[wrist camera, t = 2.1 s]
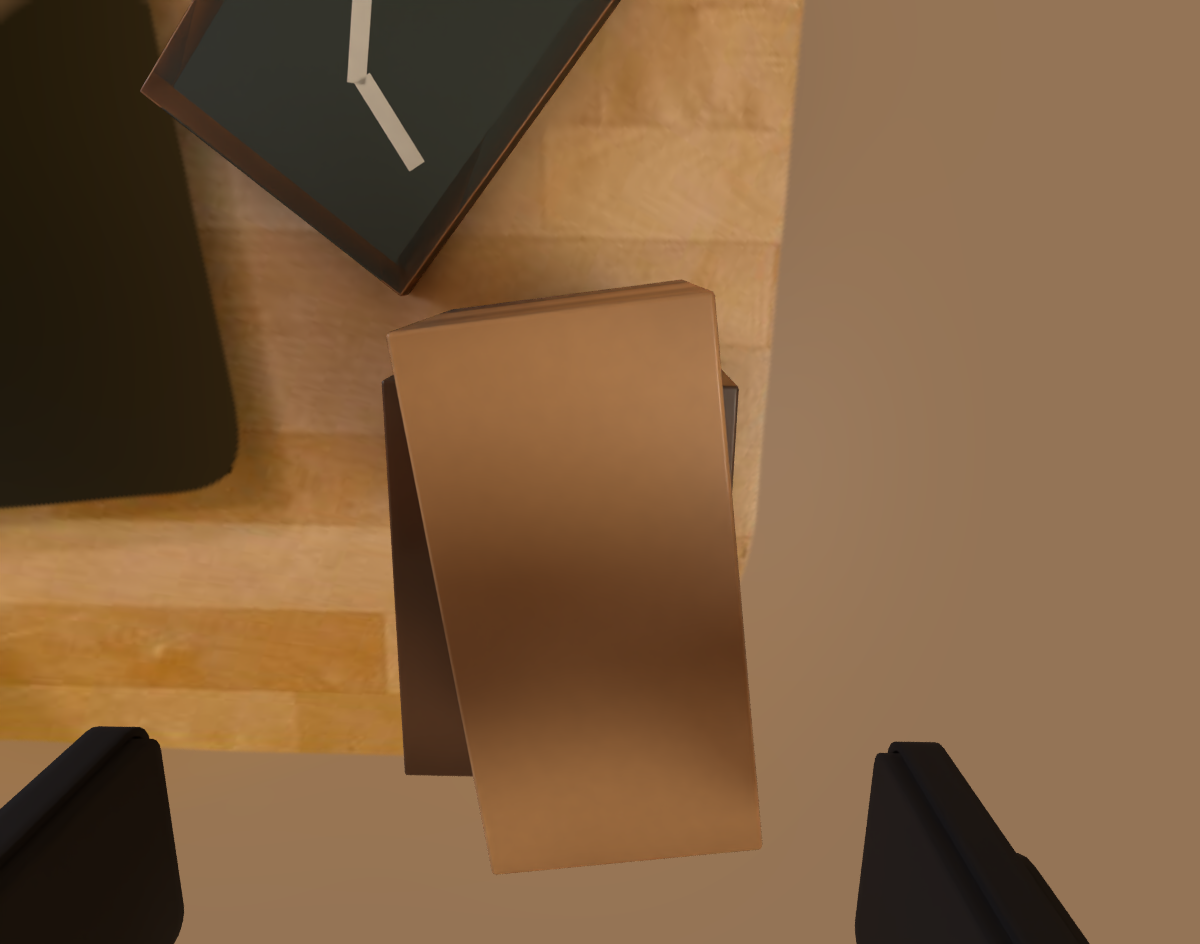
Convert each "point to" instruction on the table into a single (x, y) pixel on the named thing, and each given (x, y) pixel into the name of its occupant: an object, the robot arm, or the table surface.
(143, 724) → the table surface
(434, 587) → the desk box
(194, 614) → the table surface
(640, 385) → the eraser
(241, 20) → the slate board
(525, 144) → the table surface
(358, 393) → the table surface
